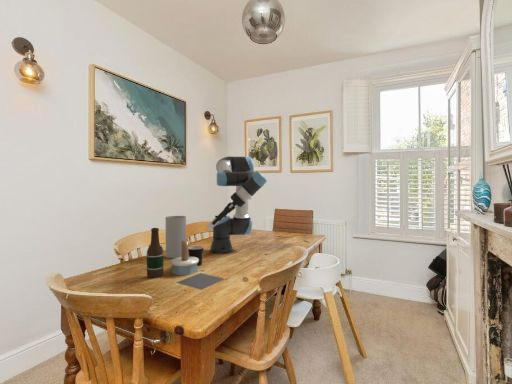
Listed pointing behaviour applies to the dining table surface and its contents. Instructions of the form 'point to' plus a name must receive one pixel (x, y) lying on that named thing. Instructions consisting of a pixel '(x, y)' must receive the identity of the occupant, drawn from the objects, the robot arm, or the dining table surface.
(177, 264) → the lid
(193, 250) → the coffee mug
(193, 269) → the bowl
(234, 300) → the dining table surface
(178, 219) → the cylinder vase
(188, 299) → the dining table surface
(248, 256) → the dining table surface
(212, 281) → the mat
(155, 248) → the beer bottle
